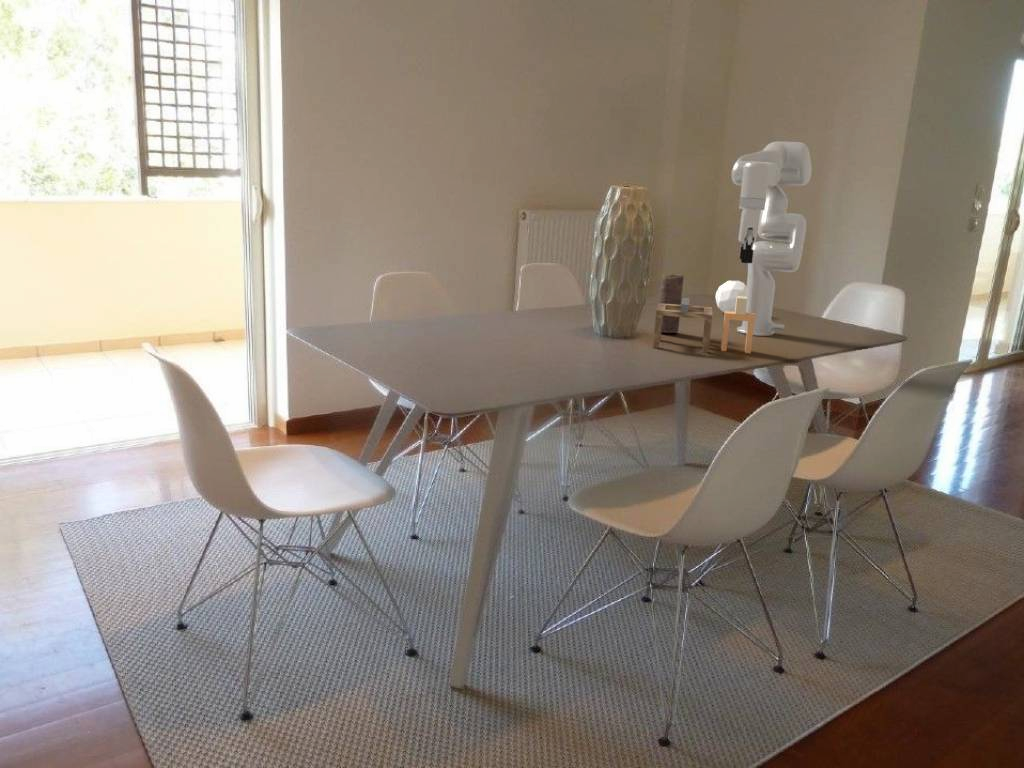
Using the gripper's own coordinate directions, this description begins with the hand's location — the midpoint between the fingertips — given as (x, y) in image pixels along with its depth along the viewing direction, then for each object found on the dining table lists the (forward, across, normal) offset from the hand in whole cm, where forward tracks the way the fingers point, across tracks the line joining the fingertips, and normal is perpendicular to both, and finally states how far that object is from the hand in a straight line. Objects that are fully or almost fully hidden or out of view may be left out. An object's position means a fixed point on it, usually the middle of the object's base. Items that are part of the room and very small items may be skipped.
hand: (745, 261), depth 268 cm
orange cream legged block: (+28, 0, 0) cm, 28 cm away
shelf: (+28, 0, -17) cm, 33 cm away
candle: (+28, -19, -22) cm, 41 cm away
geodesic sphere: (+28, -70, +1) cm, 76 cm away
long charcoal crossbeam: (+16, 0, -17) cm, 23 cm away
